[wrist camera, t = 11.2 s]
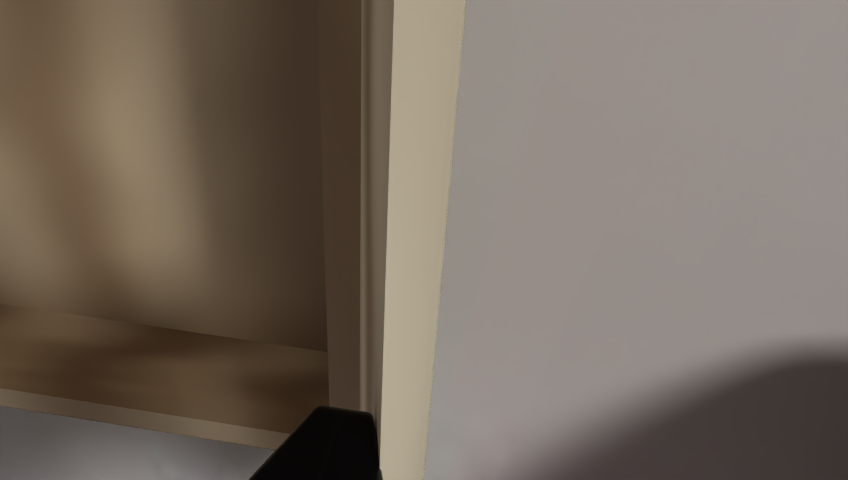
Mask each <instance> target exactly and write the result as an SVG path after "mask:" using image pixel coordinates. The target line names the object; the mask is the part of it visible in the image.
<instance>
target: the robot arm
mask: <svg viewBox="0 0 848 480" xmlns="http://www.w3.org/2000/svg"><path fill="white" fill-rule="evenodd" d="M249 480H383V476H382V470H381V469H380V466H379V453H378V443H377V436H376V429H375V423H374V418H373V415H372V414H371V413H370V412H365V411H358V410H351V409H344V408H338V407H331V406H324V405H320V406H318V407H316V408H314V409H313V410H312V411H311V412H310V413H309V415H308V416H307V417H306V418H305V419H304V420H303V421H302V422H301V423H300V424H299V425H298V427H297V428H296V429H295V430H294V431H293V432H292V433H291V434H290V435H289V436H288V437H287V439H286V440H285V441H284V442H283V443H282V444H281V445H280V446H279V447H278V448H277V449H276V450H275V452H274V453H273V454H272V455H271V456H270V457H269V458H268V459H267V460H266V461H265V462H264V464H263V465H262V466H261V467H260V468H259V469H258V470H257V471H256V472H255V473H254V474H253V476H252V477H251V478H250V479H249Z"/></svg>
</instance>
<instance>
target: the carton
mask: <svg viewBox="0 0 848 480" xmlns="http://www.w3.org/2000/svg"><path fill="white" fill-rule="evenodd" d="M361 14H362V0H0V406H5V407H11V408H17V409H24V410H30V411H36V412H42V413H49V414H55V415H61V416H67V417H74V418H80V419H86V420H92V421H99V422H105V423H111V424H117V425H124V426H130V427H136V428H142V429H149V430H155V431H161V432H167V433H174V434H180V435H186V436H192V437H198V438H205V439H211V440H217V441H223V442H230V443H236V444H242V445H248V446H255V447H261V448H267V449H273V450H276V449H277V448H278V447H279V446H280V445H281V444H282V443H283V442H284V441H285V440H286V439H287V437H288V436H289V435H290V434H291V433H292V432H293V431H294V430H295V429H296V428H297V427H298V425H299V424H300V423H301V422H302V421H303V420H304V419H305V418H306V417H307V416H308V415H309V413H310V412H311V411H312V410H313V409H314V408H316V407H318V406H320V405H324V406H331V407H338V408H344V409H351V410H358V411H360V221H361Z"/></svg>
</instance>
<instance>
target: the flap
mask: <svg viewBox="0 0 848 480" xmlns="http://www.w3.org/2000/svg"><path fill="white" fill-rule="evenodd" d="M465 8H466V0H362V14H361V221H360V411H365V412H370V413H371V414H372V415H373V418H374V423H375V429H376V436H377V443H378V453H379V466H380V469H381V470H382V476H383V480H424V471H425V460H426V449H427V437H428V426H429V415H430V404H431V392H432V381H433V370H434V358H435V347H436V336H437V324H438V313H439V302H440V290H441V279H442V268H443V257H444V245H445V234H446V223H447V211H448V200H449V189H450V177H451V166H452V155H453V143H454V132H455V121H456V110H457V98H458V87H459V76H460V64H461V53H462V42H463V30H464V19H465Z"/></svg>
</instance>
